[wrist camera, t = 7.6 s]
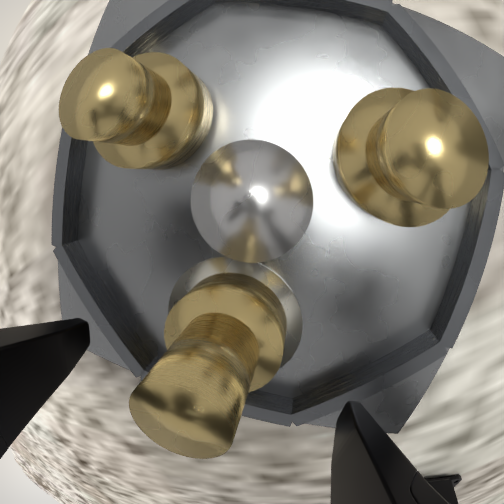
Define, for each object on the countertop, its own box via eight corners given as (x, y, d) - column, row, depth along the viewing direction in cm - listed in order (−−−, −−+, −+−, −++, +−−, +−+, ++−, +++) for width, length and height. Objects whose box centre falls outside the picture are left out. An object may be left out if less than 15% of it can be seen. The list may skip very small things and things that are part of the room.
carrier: (394, 419, 13) (411, 496, 8) (76, 329, 16) (15, 372, 10) (493, 64, 8) (556, 28, 2) (122, 4, 10) (62, -38, 5)
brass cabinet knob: (273, 376, 12) (247, 487, 6) (179, 349, 13) (112, 438, 7) (299, 287, 11) (288, 390, 5) (190, 260, 12) (97, 327, 6)
